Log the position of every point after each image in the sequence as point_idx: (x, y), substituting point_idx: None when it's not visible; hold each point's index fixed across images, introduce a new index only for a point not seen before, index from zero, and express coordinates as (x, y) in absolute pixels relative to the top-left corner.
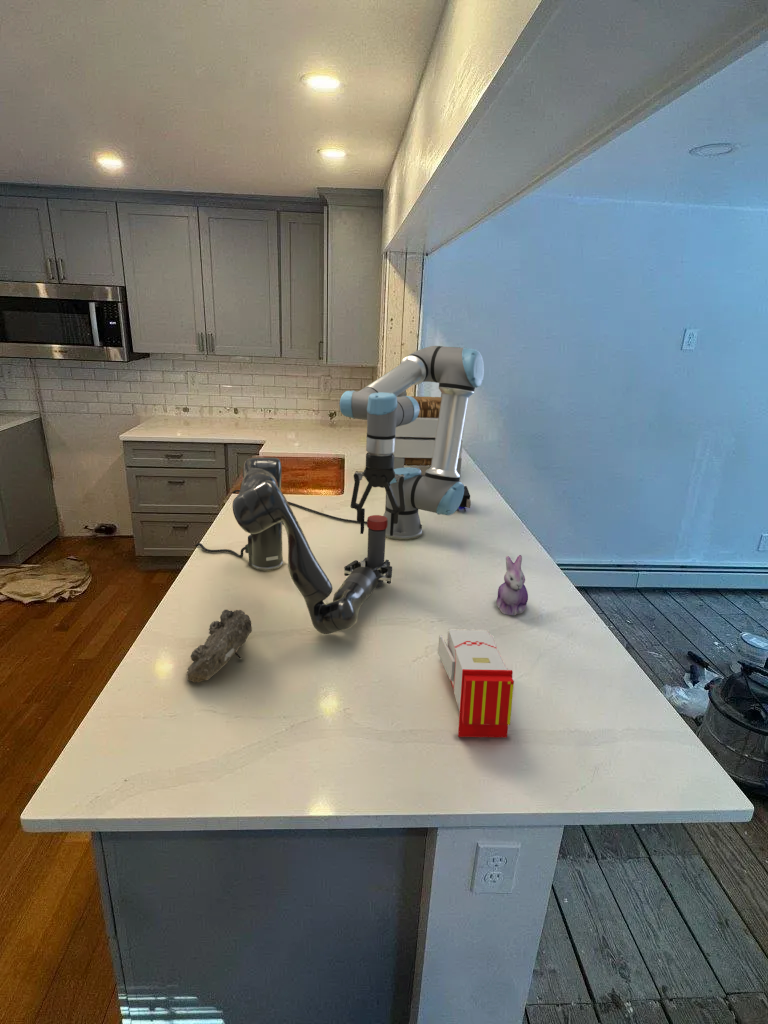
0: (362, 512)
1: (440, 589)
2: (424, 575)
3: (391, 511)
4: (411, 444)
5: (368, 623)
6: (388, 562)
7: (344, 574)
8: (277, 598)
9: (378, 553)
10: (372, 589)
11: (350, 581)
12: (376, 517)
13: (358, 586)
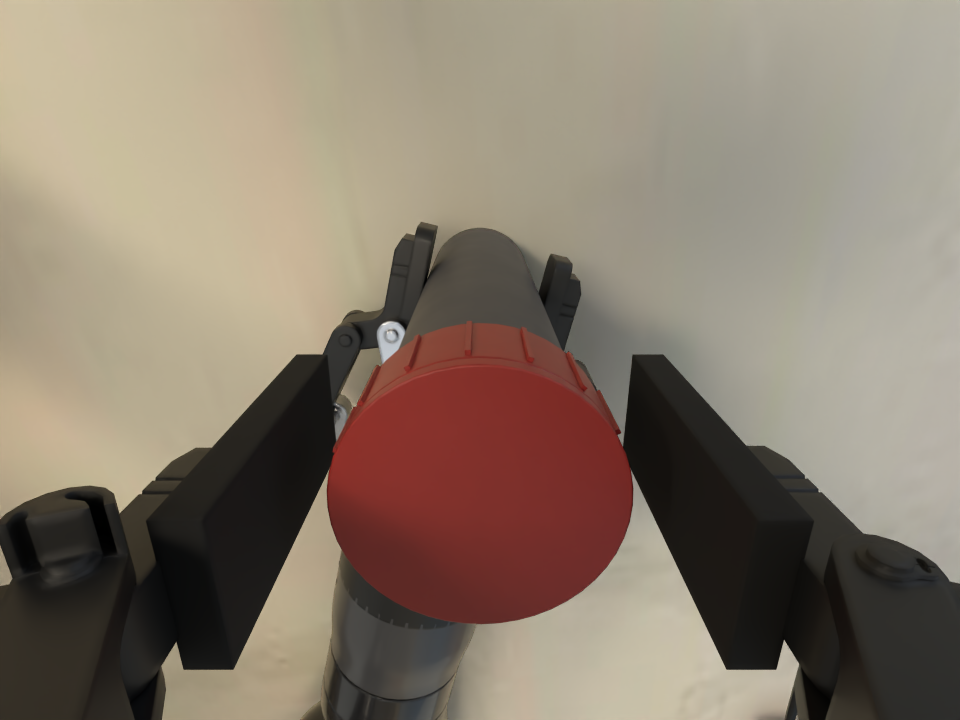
0: (216, 656)
1: (839, 278)
2: (782, 104)
3: (746, 580)
4: None
5: None
6: (569, 295)
7: None
8: (59, 475)
9: None
10: None
11: (375, 695)
12: (460, 467)
13: (424, 707)
